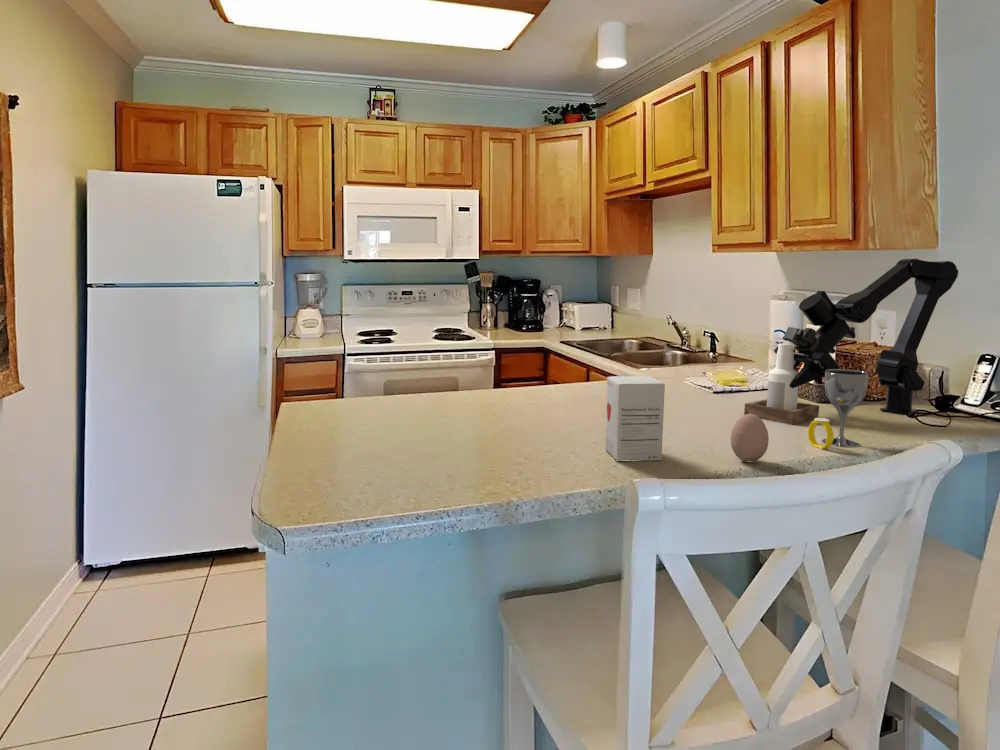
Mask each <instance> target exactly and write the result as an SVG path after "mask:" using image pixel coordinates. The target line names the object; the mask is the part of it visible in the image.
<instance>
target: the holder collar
mask: <svg viewBox="0 0 1000 750" xmlns="http://www.w3.org/2000/svg"><path fill="white" fill-rule="evenodd" d="M743 413H744V414H743V416H744V415H746V414H754V415H756V416H758V417H759V418H760V419H761V420H766V421H771V422H774V423H775V422H777V423H781V424H787V425H796V424H799V423H800V424H801V423H804V422H808V421H811V420H814V419H815V418H819V413H820V405H817V404H809V403H804V402H798V401H797V409H795V410H791V411H790V410H784V409H778V408H773V407H767V398H766V399H760V400H756V401H751V402H747V403H744V411H743Z"/></svg>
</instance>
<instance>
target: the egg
mask: <svg viewBox="0 0 1000 750" xmlns="http://www.w3.org/2000/svg"><path fill="white" fill-rule="evenodd" d="M769 439H770V438H769V432H768V429H767V427H766V424H765V423H764V420H763V419H760V418H759V417H758V416H756V415H754V414H746V415H744V414H743V415H742V416H740V417H739V418H738V420H736V422H735V424H734V425H733V427H732V429H731V433H730V447H731V449H732V452H733V453H734V455H735V456H736V457H737V458H738V459H739V460H740V461H743V462H745V461H754V462H756V461H759V460H760V459H762V457H763V456H764V455H765V454H766V452H767V451H768V447H769Z"/></svg>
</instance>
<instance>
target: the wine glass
mask: <svg viewBox="0 0 1000 750" xmlns="http://www.w3.org/2000/svg"><path fill="white" fill-rule="evenodd" d="M869 379H870V373H869V372H867V371H863V370H857V369H847V368H846V369H845V368H840V369H828V370H825V378H824V390H825V395H826V398H827V400H828V401H829V402H830V403H831V405H832V406H833V407H834V409H835V410H836V412H837V413H838V417H839V434H838V436H837V437H833V442H832V445H833V447H838V446H840V447H839V448H857V446H858V447H860V446H861V443H859V442H857V441H855V440H852V439H851V440H850V439H848V438H846V437H845V434H844V432H845V426H846V423H847V422H846V421H847V418H848V416H849V414H850V413H851V412H852V411H853V409H855V408H856V407H857V406H858V405H859V404H861V402H863V400H864V399H865V396H866V394H867V390H868V386H869V385H868V384H869ZM826 440H827V438H823V439H822V440H821V443H823V444H825V443H826ZM832 445H831V446H832Z"/></svg>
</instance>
